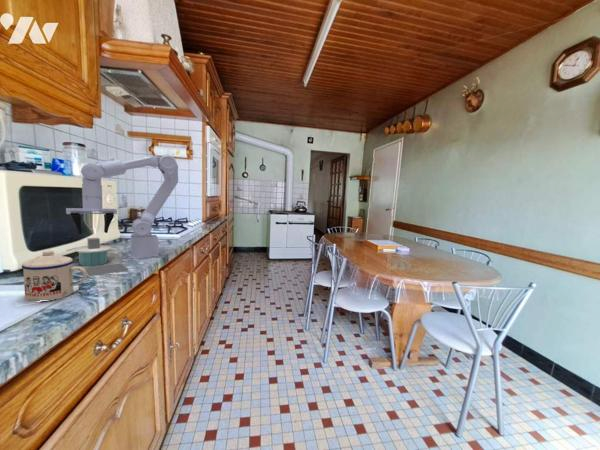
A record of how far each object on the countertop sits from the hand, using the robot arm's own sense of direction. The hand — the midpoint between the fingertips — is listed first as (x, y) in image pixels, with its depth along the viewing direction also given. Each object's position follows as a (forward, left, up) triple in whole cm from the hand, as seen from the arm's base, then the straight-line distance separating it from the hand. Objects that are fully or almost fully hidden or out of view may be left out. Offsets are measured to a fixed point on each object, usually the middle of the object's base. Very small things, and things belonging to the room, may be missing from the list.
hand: (93, 233), depth 94 cm
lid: (+1, +6, -5) cm, 8 cm away
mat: (-1, +17, -10) cm, 20 cm away
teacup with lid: (+12, +34, -11) cm, 38 cm away
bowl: (+1, +6, -11) cm, 12 cm away
